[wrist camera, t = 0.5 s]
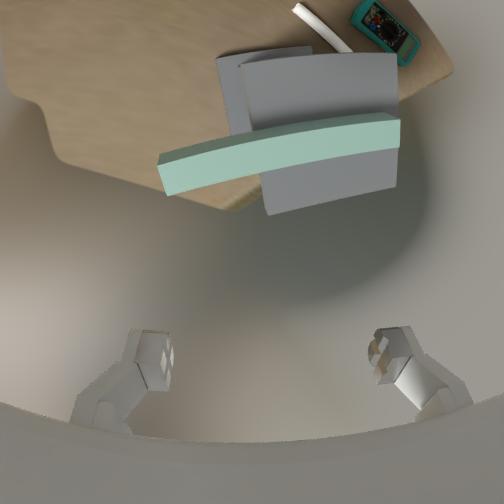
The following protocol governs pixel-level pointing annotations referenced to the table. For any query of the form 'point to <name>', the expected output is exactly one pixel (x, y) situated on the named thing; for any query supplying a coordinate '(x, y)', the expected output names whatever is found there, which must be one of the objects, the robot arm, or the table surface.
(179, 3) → the table surface
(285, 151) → the bar
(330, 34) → the white rod
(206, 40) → the table surface
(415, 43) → the digital multimeter
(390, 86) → the stand
